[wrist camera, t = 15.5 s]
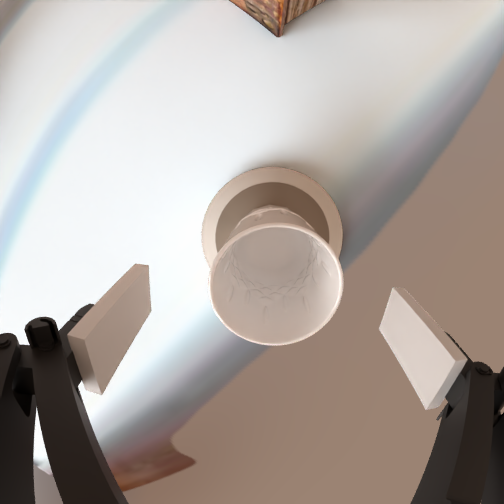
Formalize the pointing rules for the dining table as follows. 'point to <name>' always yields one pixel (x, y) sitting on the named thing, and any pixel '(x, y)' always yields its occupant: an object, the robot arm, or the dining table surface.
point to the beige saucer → (269, 193)
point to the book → (275, 11)
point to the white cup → (275, 278)
